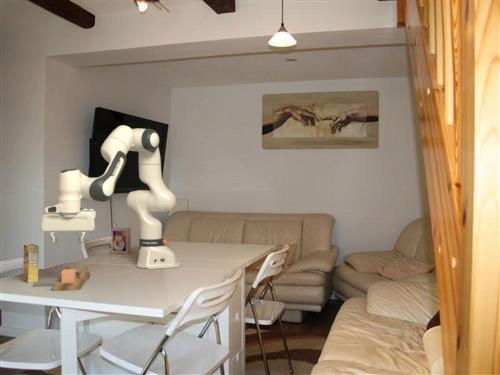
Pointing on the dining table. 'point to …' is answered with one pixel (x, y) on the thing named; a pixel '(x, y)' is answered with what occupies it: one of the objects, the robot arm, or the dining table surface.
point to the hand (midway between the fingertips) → (68, 242)
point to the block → (68, 276)
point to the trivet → (45, 282)
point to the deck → (77, 285)
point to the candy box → (30, 263)
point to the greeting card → (121, 240)
